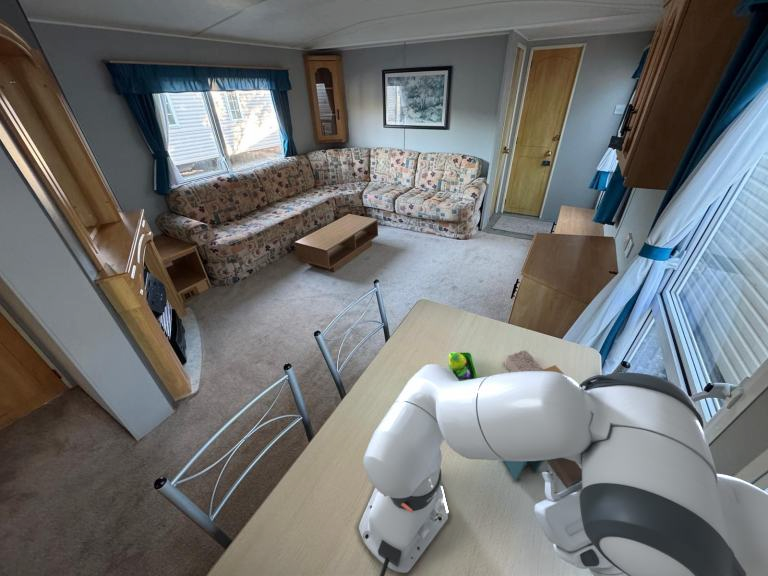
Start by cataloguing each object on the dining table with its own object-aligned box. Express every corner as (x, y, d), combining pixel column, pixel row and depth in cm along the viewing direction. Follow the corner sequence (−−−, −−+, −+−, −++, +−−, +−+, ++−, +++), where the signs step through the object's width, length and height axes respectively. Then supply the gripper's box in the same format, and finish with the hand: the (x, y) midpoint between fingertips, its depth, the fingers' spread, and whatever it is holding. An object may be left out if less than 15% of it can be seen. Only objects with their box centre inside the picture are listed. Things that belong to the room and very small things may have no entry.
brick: (557, 394, 97) (562, 385, 94) (536, 402, 95) (540, 393, 92) (522, 357, 110) (525, 348, 107) (503, 363, 108) (505, 355, 105)
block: (580, 482, 63) (586, 475, 60) (566, 488, 62) (572, 481, 60) (512, 395, 79) (514, 387, 77) (500, 399, 79) (503, 391, 77)
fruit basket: (475, 388, 100) (481, 366, 93) (449, 389, 100) (452, 367, 93) (468, 361, 109) (472, 339, 102) (444, 362, 109) (446, 340, 102)
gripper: (656, 524, 58) (614, 446, 63) (571, 571, 53) (533, 483, 58) (628, 515, 63) (592, 445, 68) (549, 557, 58) (516, 478, 63)
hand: (564, 463), depth 63 cm, fingers open, 8 cm apart
